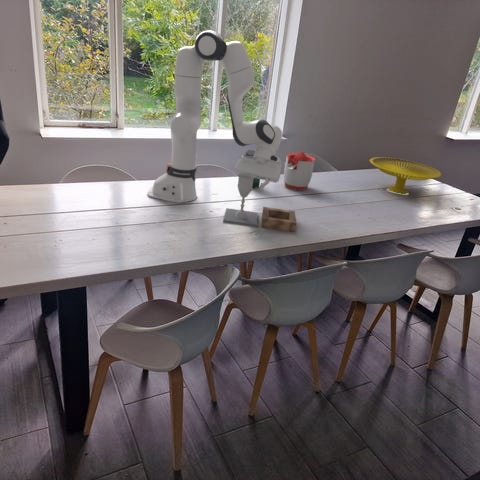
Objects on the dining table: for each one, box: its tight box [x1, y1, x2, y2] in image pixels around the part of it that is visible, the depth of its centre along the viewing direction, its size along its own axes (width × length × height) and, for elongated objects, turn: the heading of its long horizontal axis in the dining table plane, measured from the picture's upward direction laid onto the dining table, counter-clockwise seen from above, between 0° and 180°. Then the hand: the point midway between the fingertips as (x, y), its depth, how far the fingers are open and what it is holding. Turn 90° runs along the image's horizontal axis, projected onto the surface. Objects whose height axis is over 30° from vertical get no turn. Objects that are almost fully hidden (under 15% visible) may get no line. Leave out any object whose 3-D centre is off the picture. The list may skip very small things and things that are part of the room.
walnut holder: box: [260, 206, 297, 233], centre depth 183 cm, size 14×14×4 cm
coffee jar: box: [244, 149, 261, 189], centre depth 223 cm, size 10×8×19 cm
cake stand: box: [369, 156, 442, 194], centre depth 248 cm, size 40×40×15 cm
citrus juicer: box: [283, 150, 316, 191], centre depth 230 cm, size 16×17×20 cm
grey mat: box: [222, 207, 259, 228], centre depth 184 cm, size 14×14×1 cm
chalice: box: [235, 173, 255, 218], centre depth 180 cm, size 7×7×18 cm
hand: (251, 185), depth 185 cm, fingers open, 8 cm apart
